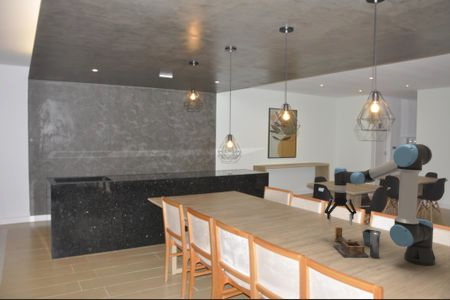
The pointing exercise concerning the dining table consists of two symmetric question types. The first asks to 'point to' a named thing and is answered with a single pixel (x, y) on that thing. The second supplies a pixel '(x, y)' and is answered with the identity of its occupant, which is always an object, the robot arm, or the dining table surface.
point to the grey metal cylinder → (374, 244)
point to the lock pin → (339, 234)
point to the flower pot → (367, 236)
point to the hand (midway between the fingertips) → (340, 224)
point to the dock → (351, 249)
